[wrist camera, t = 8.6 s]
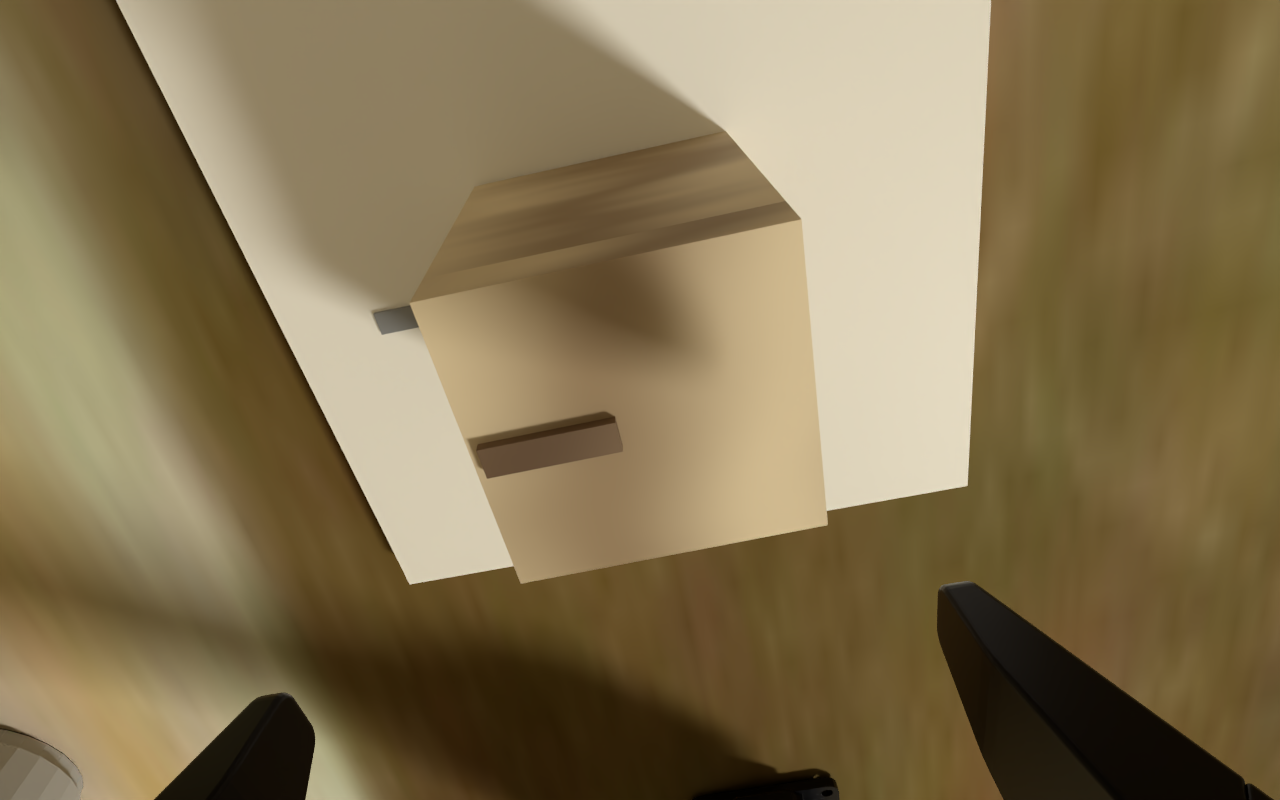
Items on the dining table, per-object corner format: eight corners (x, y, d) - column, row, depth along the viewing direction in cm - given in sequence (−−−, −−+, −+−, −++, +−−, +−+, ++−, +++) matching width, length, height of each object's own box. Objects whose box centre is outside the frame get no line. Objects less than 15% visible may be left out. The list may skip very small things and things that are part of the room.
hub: (954, 466, 23) (1042, 593, 18) (416, 562, 24) (370, 705, 20) (980, -267, 14) (1170, -390, 9) (116, -56, 15) (-106, -68, 10)
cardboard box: (725, 130, 17) (805, 223, 10) (755, 356, 20) (830, 531, 13) (474, 186, 17) (406, 308, 11) (542, 400, 20) (520, 590, 14)
